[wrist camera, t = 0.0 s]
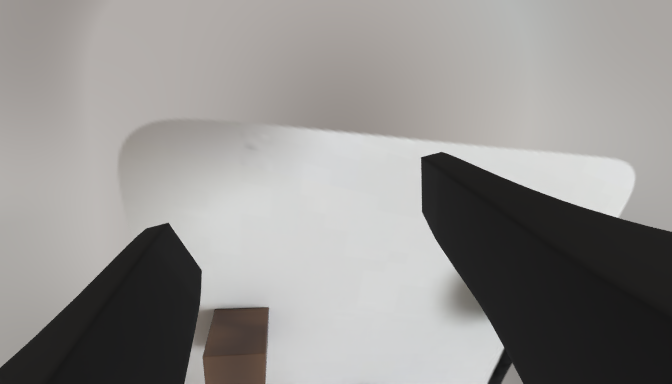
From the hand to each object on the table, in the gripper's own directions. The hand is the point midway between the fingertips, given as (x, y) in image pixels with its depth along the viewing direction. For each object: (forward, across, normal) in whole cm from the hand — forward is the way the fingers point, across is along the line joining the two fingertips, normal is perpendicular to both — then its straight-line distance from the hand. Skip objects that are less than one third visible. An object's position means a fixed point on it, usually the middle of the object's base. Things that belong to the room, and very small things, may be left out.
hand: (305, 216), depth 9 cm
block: (+8, +8, +16) cm, 20 cm away
